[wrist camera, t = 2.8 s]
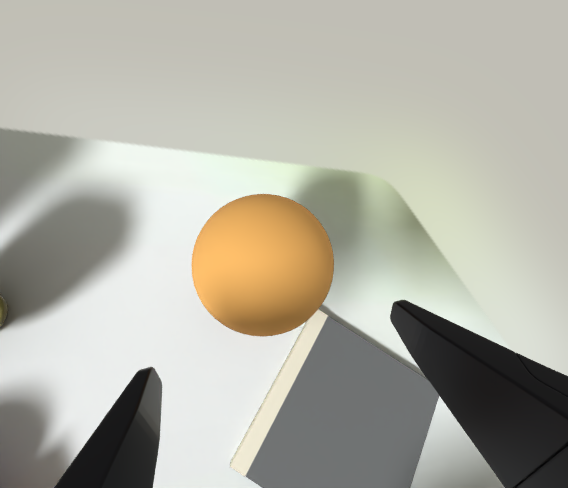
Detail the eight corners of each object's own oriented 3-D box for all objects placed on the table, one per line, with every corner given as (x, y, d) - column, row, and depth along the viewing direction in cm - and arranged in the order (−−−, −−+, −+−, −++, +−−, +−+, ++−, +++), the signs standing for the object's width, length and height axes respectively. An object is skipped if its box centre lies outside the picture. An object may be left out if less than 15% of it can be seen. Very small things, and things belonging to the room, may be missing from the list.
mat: (230, 462, 16) (229, 466, 16) (314, 307, 20) (315, 307, 20) (380, 564, 16) (384, 571, 15) (437, 387, 20) (442, 388, 19)
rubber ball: (331, 259, 15) (385, 222, 9) (278, 354, 13) (303, 388, 7) (246, 206, 15) (244, 135, 9) (181, 291, 13) (125, 272, 7)
